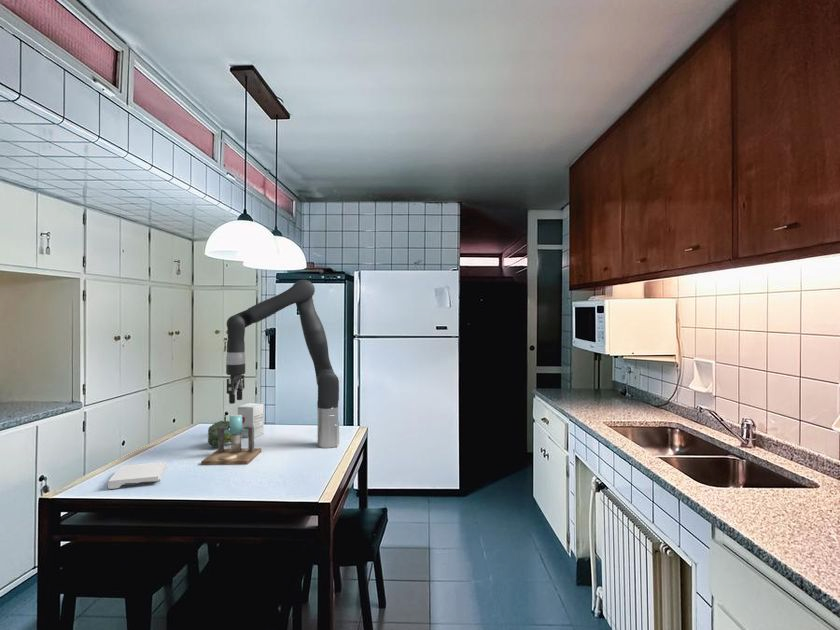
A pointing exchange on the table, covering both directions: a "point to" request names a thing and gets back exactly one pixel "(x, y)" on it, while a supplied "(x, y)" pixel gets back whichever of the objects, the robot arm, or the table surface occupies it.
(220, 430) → the board with gray uprights
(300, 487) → the table surface
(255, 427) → the supplement box
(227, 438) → the vegetable
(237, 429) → the teal rounded body
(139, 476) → the food packaging
